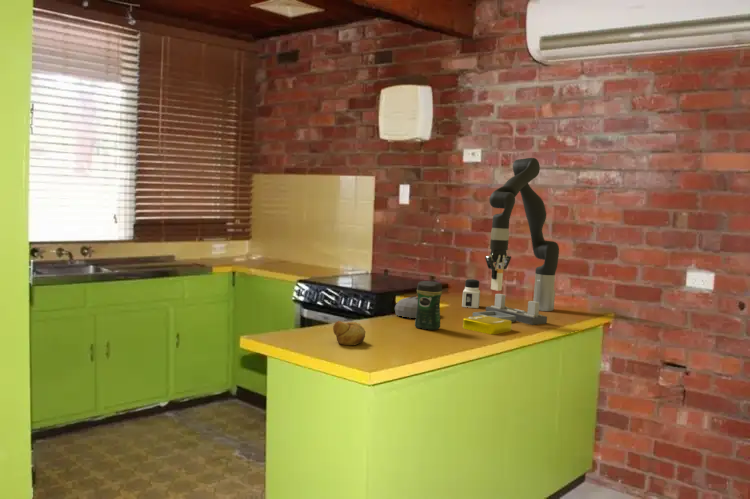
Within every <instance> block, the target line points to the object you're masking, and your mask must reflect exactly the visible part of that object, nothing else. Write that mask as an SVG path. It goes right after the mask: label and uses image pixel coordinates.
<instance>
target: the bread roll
mask: <svg viewBox="0 0 750 499" xmlns="http://www.w3.org/2000/svg"><path fill="white" fill-rule="evenodd" d="M332 329H333V330H332V331H333V333H334V335H335V336H336V337H335V338H336V342H337V343H338V344H340V345H344V346H355V345H358V344H361V343H363V342H364V340H365V337H366V330H365V327H363V326H362V325H361V323H357V322H352V321H349V322H343V321H341V320H338V321H335V322H334V324H333V325H332Z"/></svg>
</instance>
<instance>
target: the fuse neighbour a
mask: <svg viewBox="0 0 750 499" xmlns="http://www.w3.org/2000/svg"><path fill="white" fill-rule="evenodd" d="M494 295H495V296H494V305H493V306H496V307H501V309H505V306H506V297H507V295H506V294H503V293H495V294H494Z"/></svg>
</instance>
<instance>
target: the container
mask: <svg viewBox="0 0 750 499" xmlns="http://www.w3.org/2000/svg"><path fill="white" fill-rule="evenodd" d="M479 289H480V281H479V280H478V279H472V278H468V279H465V283H464V289H463V291H462V302H461V307H462V308H467V307H468V308H469V309H479V308H480V307H479V306H480V303H481V302H480V300H481V298H480V297H481V290H479Z"/></svg>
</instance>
